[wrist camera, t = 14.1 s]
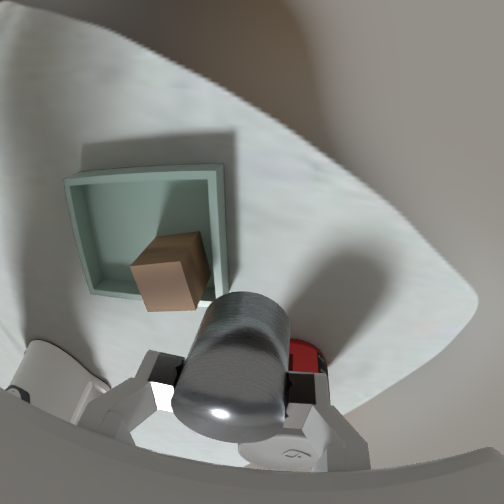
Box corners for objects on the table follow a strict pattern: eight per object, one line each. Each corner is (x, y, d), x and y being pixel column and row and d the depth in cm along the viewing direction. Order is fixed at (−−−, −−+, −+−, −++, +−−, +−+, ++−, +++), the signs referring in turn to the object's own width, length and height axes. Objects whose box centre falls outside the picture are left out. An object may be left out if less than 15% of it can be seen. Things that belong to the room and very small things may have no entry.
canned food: (312, 389, 32) (313, 474, 23) (245, 377, 32) (229, 462, 23) (338, 345, 29) (349, 440, 19) (260, 329, 29) (246, 427, 19)
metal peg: (269, 366, 15) (258, 451, 11) (195, 339, 15) (163, 421, 10) (305, 311, 13) (305, 406, 9) (218, 277, 13) (181, 366, 8)
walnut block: (211, 274, 26) (195, 310, 22) (168, 277, 27) (147, 311, 22) (199, 231, 24) (180, 261, 20) (155, 236, 25) (129, 266, 20)
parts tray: (229, 291, 27) (223, 308, 25) (102, 280, 28) (90, 294, 26) (223, 163, 22) (215, 170, 20) (80, 171, 23) (63, 179, 21)
